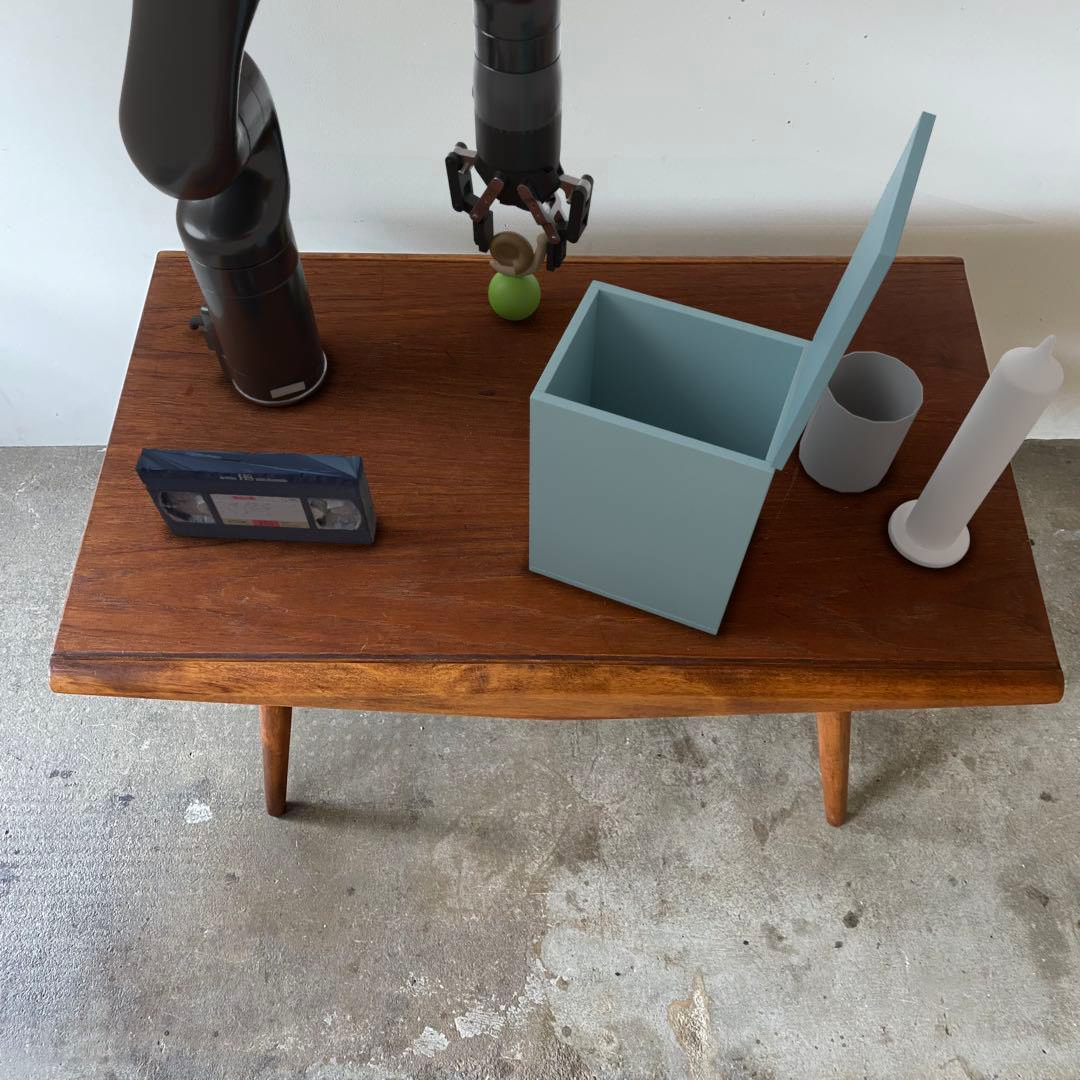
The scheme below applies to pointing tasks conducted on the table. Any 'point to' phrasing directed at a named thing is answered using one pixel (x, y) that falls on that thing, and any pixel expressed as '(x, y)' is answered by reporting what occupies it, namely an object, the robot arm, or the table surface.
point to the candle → (977, 456)
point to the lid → (856, 288)
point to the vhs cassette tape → (260, 495)
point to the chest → (655, 451)
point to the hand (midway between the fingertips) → (519, 256)
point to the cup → (860, 421)
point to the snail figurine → (515, 274)
